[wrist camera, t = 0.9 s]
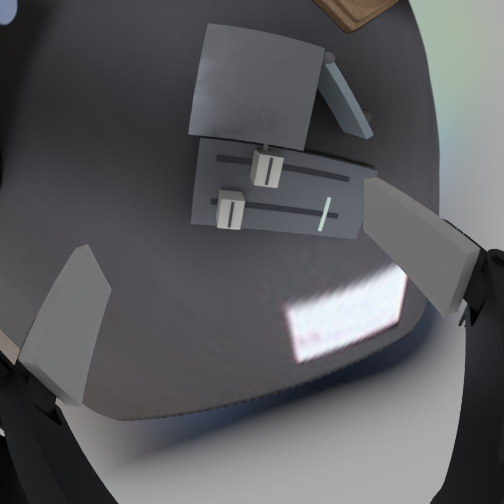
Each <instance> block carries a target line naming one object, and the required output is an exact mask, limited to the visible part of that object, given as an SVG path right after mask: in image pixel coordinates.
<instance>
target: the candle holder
mask: <svg viewBox="0 0 504 504" xmlns="http://www.w3.org/2000/svg"><path fill="white" fill-rule="evenodd" d="M312 1H314V2H315V3H316V4H317V5H318V6H319V7H320V8H321V9H322V10H323V11H324V12H325V13H326V14H327V15H328V16H329V17H330V18H331V19H332V20H333V21H334V22H335V23H336V24H337V25H338V26H339V27H340V28H341V29H342V30H343V31H344V32H345V33H349V32H352V31H354V30H356V29H358V28H359V27H361V26H363V25H364V24H366V23H367V22H368V21H370V20H371V19H373V18H374V17H376V16H377V15H379V14H380V13H382V12H383V11H385V10H386V9H388V8H390V7H391V6H393V5H394V4H395V3H397V2H398V1H399V0H312Z"/></svg>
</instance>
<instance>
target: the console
mask: <svg viewBox="0 0 504 504" xmlns="http://www.w3.org/2000/svg"><path fill="white" fill-rule="evenodd" d="M255 149H260V150H266V151H272V152H277V153H278V154H280V155H281V156H282V157H283V158H284V160H283V164H282V169H281V174H280V178H279V183H278V187H277V188H272V187H264V186H256V185H254V184H253V182H252V181H251V179H250V172H251V166H252V161H253V155H254V150H255ZM377 174H378V171H377V170H375V169H373V168H371V167H368V166H365V165H361V164H357V163H353V162H350V161H346V160H342V159H337V158H333V157H329V156H325V155H320V154H316V153H311V152H306V151H301V150H296V149H291V148H286V147H280V146H275V145H269V144H263V143H256V142H249V141H242V140H235V139H227V138H218V137H209V136H200V143H199V150H198V158H197V166H196V175H195V184H194V193H193V203H192V214H191V224H197V225H210V226H217V220H216V213H217V206H218V198H219V191H220V190H229V191H238V192H242V195H243V197H244V200H245V205H244V210H243V216H242V222H241V227H240V228H246V229H257V230H268V231H279V232H289V233H299V234H309V235H319V236H328V237H338V238H347V239H356V238H357V235H358V232H359V229H360V226H361V224H362V221H363V218H364V179H368V178H374V177H377Z"/></svg>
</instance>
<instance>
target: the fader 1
mask: <svg viewBox="0 0 504 504" xmlns="http://www.w3.org/2000/svg"><path fill="white" fill-rule="evenodd" d="M244 205H245V200H244V197H243V195H242V192H238V191H229V190H220V191H219V198H218V206H217V213H216V220H217V228H224V229H236V230H240V227H241V222H242V216H243V210H244Z"/></svg>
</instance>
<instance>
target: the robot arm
mask: <svg viewBox="0 0 504 504" xmlns="http://www.w3.org/2000/svg"><path fill="white" fill-rule="evenodd" d="M0 181H1V156H0ZM363 230H364V231H365V232H366V233H367V234H368V235H369V236H370V237H371V238H372V239H373V240H374V241H375V242H376V243H377V244H378V245H379V246H380V247H381V248H382V249H383V250H384V251H385V252H386V253H387V254H388V255H389V256H390V257H391V259H392V260H393V261H394V262H395V263H396V264H397V265H398V266H399V267H400V268H401V269H402V270H403V271H404V272H405V273H406V274H407V276H408V277H409V278H410V279H411V280H412V281H413V282H414V283H415V284H416V286H417V287H418V288H419V289H420V290H421V291H422V292H423V293H424V295H425V296H426V297H427V298H428V299H429V300H430V302H431V303H432V304H433V305H434V306H435V307H436V309H437V310H438V311H439V312H440V313H441V315H442V316H443V317H444V318H445V317H447V316H449V315H451V314H453V313H455V312H457V311H458V309H459V306H460V304H461V302H462V299H464V300H465V301H466V302H467V303H468V304H467V306H466V308H465V311H464V313H463V315H462V317H461V319H460V321H459V326H461V325H462V323H463V321H464V320H465V326H464V327H466V356H465V375H464V387H463V396H462V404H461V412H460V418H459V424H458V430H457V435H456V439H455V444H454V448H453V453H452V457H451V461H450V465H449V468H448V472H447V475H446V478H445V481H444V484H443V486H442V488H441V489H440V490H439V492H438V493H437V494H436V495H435V496H434V498H433V499H432V501H431V502H430V504H504V251H501V250H498V249H491V250H488V252H487V251H486V250H484V249H483V248H482V247H481V246H480V245H478V244H477V243H476V242H475V241H474V240H472V239H471V238H470V237H468V236H467V235H466V234H463V232H462V231H461V230H459V229H457V228H456V227H455V226H454V225H452V224H451V223H450V222H448V221H447V220H444V219H442V218H440V217H439V216H437V215H436V214H434V213H433V212H432V211H430V210H429V209H427V208H426V207H424V206H423V205H421V204H420V203H418V202H417V201H415V200H414V199H412V198H411V197H409V196H407V195H406V194H404V193H403V192H401V191H400V190H398V189H396V188H395V187H393V186H391V185H390V184H388V183H386V182H385V181H383V180H381V179H380V178H378V177H374V178H368V179H364V218H363ZM111 290H112V289H111V288H110V286H109V284H108V282H107V280H106V278H105V277H104V275H103V273H102V271H101V269H100V267H99V265H98V263H97V261H96V259H95V257H94V255H93V253H92V251H91V249H90V247H89V245H88V244H87V245H84V246H80V247H77V248H75V250H74V252H73V253H72V255H71V256H70V258H69V259H68V261H67V263H66V264H65V266H64V268H63V269H62V271H61V273H60V274H59V276H58V278H57V279H56V281H55V283H54V285H53V286H52V288H51V290H50V292H49V294H48V295H47V297H46V299H45V301H44V303H43V305H42V307H41V309H40V311H39V313H38V315H37V317H36V318H35V320H34V321H33V323H32V326H31V328H30V331H29V332H28V334H27V336H26V339H25V341H24V343H23V346H22V348H21V350H20V353H19V355H18V358H17V360H16V363H15V365H13V364H12V363H11V362H10V360H9V359H8V358H7V357H6V356H5V355H4V354H3V353H2V352H1V350H0V428H1V429H2V430H3V431H4V434H5V437H4V436H2V435H0V504H118V503H117V501H116V500H115V499H114V497H113V496H112V495H111V493H110V492H109V491H108V490H107V488H106V487H105V485H104V484H103V482H102V481H101V479H100V478H99V477H98V475H97V474H96V472H95V471H94V469H93V467H92V466H91V464H90V463H89V461H88V459H87V458H86V456H85V455H84V453H83V452H82V449H81V448H80V446H79V444H78V442H77V441H76V439H75V437H74V435H73V433H72V431H71V429H70V427H69V425H68V423H67V421H66V419H65V417H64V415H63V413H62V411H61V409H60V408H59V407H58V406H57V405H56V404H55V402H56V397H57V398H58V399H60V400H61V401H62V402H63V403H64V404H66V405H74V406H81V404H82V399H83V394H84V388H85V384H86V379H87V374H88V370H89V366H90V362H91V358H92V354H93V350H94V346H95V342H96V339H97V335H98V331H99V328H100V325H101V321H102V318H103V315H104V311H105V308H106V305H107V302H108V299H109V296H110V293H111Z"/></svg>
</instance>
